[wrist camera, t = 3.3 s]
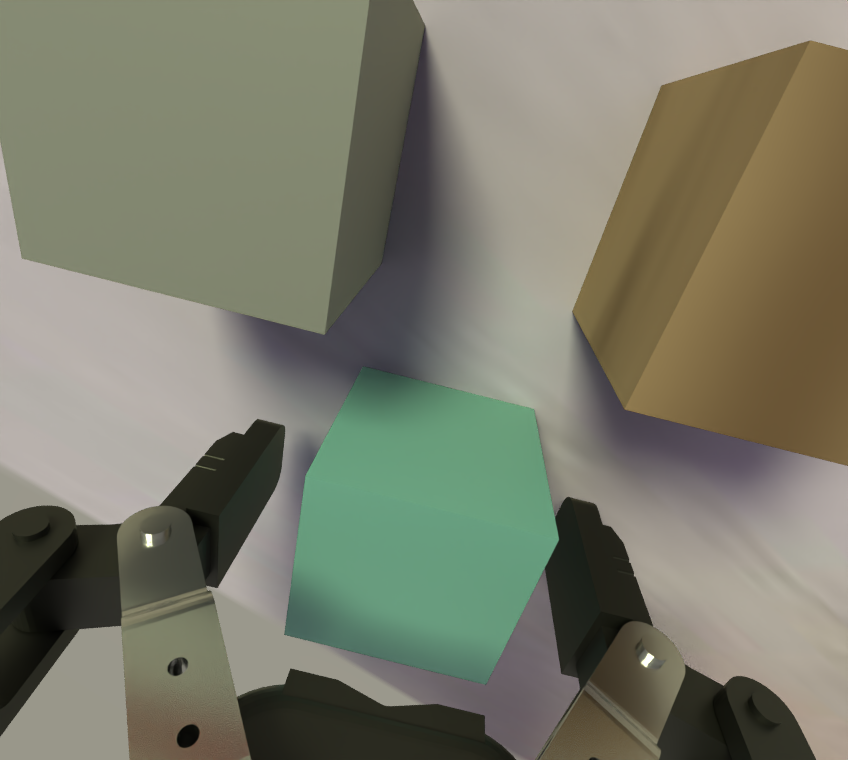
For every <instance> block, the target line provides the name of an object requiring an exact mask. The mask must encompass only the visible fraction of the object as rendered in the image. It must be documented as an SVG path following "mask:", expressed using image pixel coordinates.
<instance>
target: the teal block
mask: <svg viewBox="0 0 848 760" xmlns="http://www.w3.org/2000/svg"><path fill="white" fill-rule="evenodd" d="M558 541H559V537H558V531H557V526H556V521H555V516H554V511H553V506H552V500H551V495H550V490H549V485H548V480H547V475H546V469H545V464H544V459H543V454H542V449H541V444H540V439H539V433H538V428H537V423H536V418H535V413H534V409H531V408H527V407H523V406H519V405H515V404H511V403H507V402H503V401H499V400H495V399H491V398H487V397H483V396H479V395H475V394H471V393H467V392H463V391H459V390H456V389H452V388H448V387H444V386H440V385H436V384H432V383H428V382H424V381H420V380H416V379H412V378H408V377H404V376H400V375H396V374H392V373H388V372H384V371H380V370H376V369H372V368H368V367H364V366H363V367H362V369H361V371H360V373H359V375H358V377H357V379H356V381H355V383H354V385H353V386H352V388H351V390H350V392H349V394H348V396H347V398H346V400H345V402H344V404H343V405H342V407H341V409H340V411H339V413H338V415H337V417H336V419H335V421H334V423H333V424H332V426H331V428H330V430H329V432H328V434H327V436H326V438H325V440H324V442H323V444H322V445H321V447H320V449H319V451H318V453H317V455H316V457H315V459H314V461H313V463H312V464H311V466H310V468H309V470H308V472H307V474H306V476H305V483H304V490H303V498H302V506H301V513H300V521H299V528H298V536H297V543H296V551H295V558H294V566H293V573H292V581H291V588H290V596H289V604H288V611H287V619H286V626H285V634H284V635H287V636H291V637H296V638H300V639H304V640H308V641H312V642H316V643H320V644H324V645H328V646H332V647H336V648H340V649H344V650H348V651H352V652H356V653H360V654H364V655H368V656H372V657H376V658H380V659H384V660H388V661H392V662H396V663H400V664H404V665H408V666H412V667H416V668H420V669H424V670H428V671H432V672H436V673H440V674H444V675H448V676H453V677H457V678H461V679H465V680H469V681H473V682H477V683H481V684H485V685H486V684H487V682H488V680H489V678H490V676H491V674H492V672H493V670H494V668H495V666H496V664H497V662H498V660H499V658H500V656H501V654H502V652H503V650H504V648H505V646H506V644H507V642H508V640H509V638H510V636H511V634H512V632H513V630H514V628H515V626H516V624H517V622H518V620H519V618H520V616H521V614H522V612H523V610H524V608H525V606H526V604H527V602H528V600H529V598H530V596H531V594H532V592H533V590H534V588H535V586H536V584H537V582H538V580H539V578H540V576H541V574H542V572H543V570H544V568H545V566H546V565H547V563H548V561H549V559H550V557H551V555H552V553H553V551H554V549H555V547H556V545H557V543H558Z"/></svg>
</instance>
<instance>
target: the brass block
mask: <svg viewBox="0 0 848 760" xmlns="http://www.w3.org/2000/svg"><path fill="white" fill-rule="evenodd" d="M572 312H573V314H574V315H575V317H576V319H577V321H578V323H579V325H580V327H581V329H582V330H583V332H584V334H585V336H586V338H587V340H588V342H589V344H590V346H591V347H592V349H593V351H594V353H595V355H596V357H597V359H598V361H599V362H600V364H601V366H602V368H603V370H604V372H605V374H606V376H607V378H608V379H609V381H610V383H611V385H612V387H613V389H614V391H615V393H616V395H617V396H618V398H619V400H620V402H621V404H622V406H623V408H624V410H628V411H632V412H636V413H640V414H644V415H648V416H652V417H656V418H660V419H664V420H668V421H672V422H676V423H680V424H684V425H688V426H692V427H696V428H700V429H704V430H708V431H712V432H716V433H720V434H724V435H728V436H731V437H735V438H739V439H743V440H747V441H751V442H755V443H759V444H763V445H767V446H771V447H775V448H779V449H783V450H787V451H791V452H795V453H799V454H803V455H807V456H811V457H815V458H819V459H823V460H827V461H831V462H835V463H839V464H843V465H847V466H848V50H845V49H841V48H838V47H834V46H830V45H826V44H822V43H818V42H814V41H807V42H804V43H801V44H797V45H794V46H791V47H787V48H784V49H781V50H777V51H774V52H771V53H768V54H764V55H761V56H758V57H754V58H751V59H748V60H744V61H741V62H738V63H735V64H731V65H728V66H725V67H721V68H718V69H715V70H711V71H708V72H705V73H702V74H698V75H695V76H692V77H688V78H685V79H682V80H678V81H675V82H672V83H668V84H665V85H662V86H661V88H660V91H659V93H658V96H657V98H656V101H655V103H654V106H653V108H652V111H651V114H650V116H649V119H648V121H647V124H646V126H645V129H644V131H643V134H642V136H641V139H640V141H639V144H638V146H637V149H636V152H635V154H634V157H633V159H632V162H631V164H630V167H629V169H628V172H627V174H626V177H625V179H624V182H623V184H622V187H621V189H620V192H619V195H618V197H617V200H616V202H615V205H614V207H613V210H612V212H611V215H610V217H609V220H608V222H607V225H606V227H605V230H604V233H603V235H602V238H601V240H600V243H599V245H598V248H597V250H596V253H595V255H594V258H593V260H592V263H591V265H590V268H589V271H588V273H587V276H586V278H585V281H584V283H583V286H582V288H581V291H580V293H579V296H578V298H577V301H576V303H575V306H574V308H573V311H572Z"/></svg>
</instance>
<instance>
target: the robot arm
mask: <svg viewBox="0 0 848 760" xmlns="http://www.w3.org/2000/svg"><path fill="white" fill-rule="evenodd" d="M284 439H285V426H284V425H280V424H276V423H272V422H268V421H264V420H260V419H257V420H256V421H255V422H254V423H253V424H252V425H251V427H250V428H249V429H248V430H247V432H246V433H245V434H244V435H243V434H239V433H235V432H232V433H230V434H228V435H226V436H225V437H223V438H221V439H219V440H217V441H216V442H215V443H214V444H213V445H212V446H211V447H210V448H209V450H208V451H207V452H206V453H205V456H203V457H202V458H201V459H200V460H199V461H198V462H197V463H196V466H195V467H193V468H192V469H191V470H190V471H189V473H188V474H187V475H186V476H185V477H184V478H183V479H182V481H181V482H180V483H179V484H178V485H177V486H176V487H175V489H174V490H173V491H172V492H171V493H170V494H169V495H168V497H167V498H166V499H165V500H164V501H163V502H162V503H161V505H160V506H155V507H150V508H146V509H144V510H141V511H139V512H137V513H135V514H133V515H132V516H130V517H129V518H128V519H126V520H125V521H124V522H123V523H122V524H112V525H76V523H75V519H74V516H73V515H72V513H71V512H69V511H68V510H66V509H64V508H61V507H58V506H36V507H31V508H27V509H23V510H20V511H18V512H15V513H13V514H11V515H9V516H7V517H5V518H4V519H2V520H1V521H0V736H1V735H2V734H3V732H4V731H5V729H6V728H7V727H8V725H9V724H10V723H11V721H12V720H13V719H14V717H15V716H16V715H17V713H18V712H19V711H20V709H21V708H22V707H23V705H24V704H25V702H26V701H27V700H28V698H29V697H30V696H31V694H32V693H33V692H34V690H35V689H36V688H37V686H38V685H39V684H40V682H41V681H42V679H43V678H44V677H45V675H46V674H47V673H48V671H49V670H50V668H51V667H52V666H53V665H54V663H55V662H56V660H57V659H58V658H59V656H60V655H61V654H62V652H63V651H64V650H65V648H66V647H67V646H68V644H69V643H70V641H71V640H72V639H73V638H74V636H75V635H76V633H77V632H78V631H79V629H86V628H98V627H110V626H121V629H122V645H123V661H124V677H125V693H126V708H127V725H128V740H129V756H130V760H516V759H515V758H514V757H513V756H512V754H510V753H509V752H508V751H507V750H506V749H505V748H504V747H503V746H502V745H500V744H499V743H498V742H496V741H495V740H494V739H492V738H491V737H489V736H487V735H486V734H485V716H484V715H480V714H476V713H472V712H467V711H463V710H459V709H455V708H451V707H447V706H443V705H439V704H430V705H410V706H384V705H382V704H380V703H378V702H376V701H374V700H373V699H371V698H369V697H367V696H366V695H364V694H362V693H360V692H358V691H357V690H355V689H353V688H351V687H350V686H348V685H346V684H344V683H342V682H341V681H339V680H336V679H332V678H327V677H323V676H319V675H315V674H311V673H307V672H303V671H299V670H295V669H290V671H289V674H288V677H287V680H286V683H285V684H284V685H273V686H267V687H262V688H259V689H256V690H252V691H249V692H247V693H245V694H242V695H240V696H238V697H237V696H236V692H235V688H234V684H233V679H232V675H231V671H230V666H229V662H228V657H227V654H226V649H225V645H224V640H223V636H222V632H221V627H220V623H219V619H218V615H217V610H216V606H215V601H214V598H213V595H212V592H211V591H208V590H207V587H206V586H211V587H215V588H218V586H219V584H220V583H221V581H222V579H223V578H224V576H225V574H226V572H227V571H228V569H229V567H230V566H231V564H232V562H233V560H234V559H235V557H236V555H237V554H238V552H239V550H240V548H241V547H242V545H243V543H244V542H245V540H246V538H247V536H248V535H249V533H250V531H251V530H252V528H253V526H254V524H255V523H256V521H257V519H258V518H259V516H260V514H261V512H262V511H263V509H264V507H265V506H266V504H267V502H268V500H269V499H270V497H271V495H272V494H273V492H274V490H275V488H276V486H277V483H278V480H279V477H280V473H281V467H282V458H283V448H284ZM555 521H556V526H557V531H558V537H559V541H558V543H557V545H556V547H555V549H554V551H553V553H552V555H551V557H550V559H549V561H548V563H547V565H546V566H545V571H546V578H547V584H548V591H549V597H550V603H551V610H552V616H553V623H554V629H555V636H556V642H557V648H558V655H559V661H560V668H561V674H564V675H568V676H572V677H576V678H578V679H579V684H580V690H579V691H578V693H577V694H576V696H575V697H574V699H573V700H572V702H571V704H570V705H569V707H568V708H567V710H566V712H565V713H564V715H563V716H562V718H561V719H560V721H559V723H558V724H557V726H556V727H555V729H554V730H553V732H552V734H551V735H550V737H549V738H548V740H547V741H546V743H545V745H544V746H543V748H542V749H541V751H540V753H539V754H538V756H537V757H536V759H535V760H816V758H815V756H814V754H813V752H812V750H811V748H810V746H809V744H808V742H807V740H806V738H805V736H804V734H803V732H802V730H801V728H800V726H799V724H798V722H797V721H796V719H795V717H794V715H793V714H792V712H791V711H790V710H789V708H788V707H787V706H786V705H785V703H784V702H783V701H782V700H781V699H780V698H779V697H778V696H777V695H776V694H774V693H773V692H772V691H771V690H770V689H768V688H767V687H766V686H764V685H762V684H761V683H759V682H757V681H755V680H753V679H750V678H748V677H743V676H736V677H733V678H731V679H730V680H729V681H728V682H727V683H726V684H725V685H724V686H723V685H721V684H719V683H717V682H716V681H714V680H712V679H710V678H708V677H706V676H704V675H703V674H701V673H699V672H697V671H695V670H693V669H692V668H690V667H688V666H687V665H685V664H684V661H683V658H682V656H681V654H680V652H679V650H678V649H677V647H676V646H675V645H674V644H673V642H672V641H671V640H670V639H669V638H668V637H667V636H666V635H665V634H663V633H662V632H661V631H659V630H658V629H656V628H655V627H653V624H652V621H651V619H650V616H649V613H648V610H647V608H646V605H645V602H644V599H643V596H642V594H641V591H640V588H639V585H638V582H637V580H636V577H634V571H633V569H632V566H631V563H629V557H628V555H627V552H626V549H625V546H624V544H623V542H622V541H621V539H620V538H619V537H618V536H617V534H616V533H615V532H614V530H613V529H612V528H611V527H609V526H605V525H603V524H602V521H601V518H600V515H599V511H598V508H597V506H596V505H595V504H594V503H590V502H586V501H582V500H578V499H574V498H570V497H567V498H566V499H565V500H564V501H563V503H562V505H561V507H560V509H559V511H558V513H557V515H556V517H555Z"/></svg>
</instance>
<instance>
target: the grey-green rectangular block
mask: <svg viewBox="0 0 848 760" xmlns="http://www.w3.org/2000/svg"><path fill="white" fill-rule="evenodd" d="M424 29H425V24H424V22H423V20H422V18H421V16H420V14H419V12H418V10H417V8H416V6H415V4H414V2H413V0H0V142H1V147H2V153H3V158H4V164H5V169H6V174H7V180H8V185H9V191H10V196H11V202H12V207H13V213H14V218H15V223H16V229H17V234H18V240H19V245H20V251H21V256H22V259H26V260H30V261H34V262H38V263H42V264H46V265H50V266H54V267H58V268H62V269H66V270H70V271H74V272H78V273H82V274H86V275H90V276H94V277H98V278H102V279H106V280H110V281H114V282H118V283H122V284H125V285H129V286H133V287H137V288H141V289H145V290H149V291H153V292H157V293H161V294H165V295H169V296H173V297H177V298H181V299H185V300H189V301H193V302H197V303H201V304H205V305H209V306H213V307H217V308H221V309H225V310H229V311H233V312H236V313H240V314H244V315H248V316H252V317H256V318H260V319H264V320H268V321H272V322H276V323H280V324H284V325H288V326H292V327H296V328H300V329H304V330H308V331H312V332H316V333H320V334H324V335H325V334H326V332H327V331H328V330H329V329H330V327H331V326H332V325H333V324H334V322H335V321H336V320H337V319H338V317H339V316H340V315H341V314H342V312H343V311H344V310H345V309H346V307H347V306H348V305H349V304H350V302H351V301H352V300H353V299H354V297H355V296H356V295H357V294H358V292H359V291H360V290H361V289H362V287H363V286H364V285H365V284H366V282H367V281H368V280H369V279H370V277H371V276H372V275H373V274H374V272H375V271H376V270H377V269H378V267H379V266H380V265H381V264H382V258H383V253H384V248H385V242H386V237H387V231H388V226H389V220H390V215H391V209H392V204H393V198H394V193H395V187H396V182H397V176H398V171H399V165H400V160H401V155H402V149H403V144H404V138H405V133H406V127H407V122H408V116H409V111H410V105H411V100H412V94H413V89H414V83H415V78H416V73H417V67H418V62H419V56H420V51H421V45H422V40H423V34H424Z"/></svg>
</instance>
